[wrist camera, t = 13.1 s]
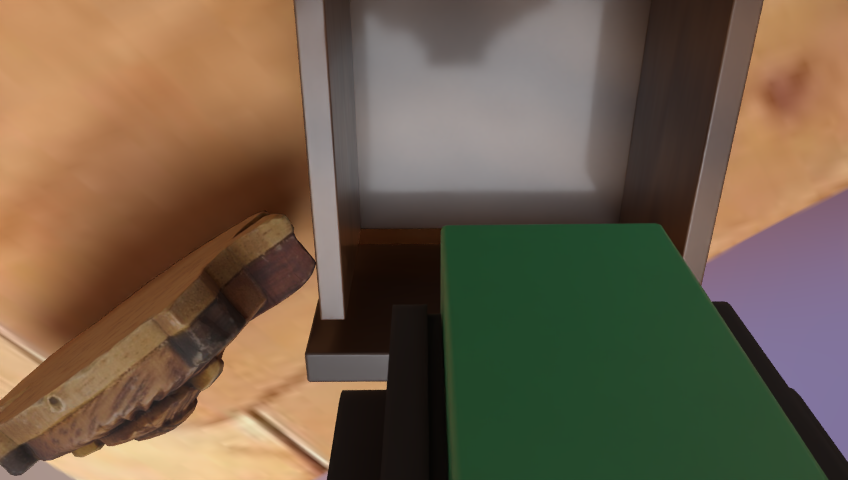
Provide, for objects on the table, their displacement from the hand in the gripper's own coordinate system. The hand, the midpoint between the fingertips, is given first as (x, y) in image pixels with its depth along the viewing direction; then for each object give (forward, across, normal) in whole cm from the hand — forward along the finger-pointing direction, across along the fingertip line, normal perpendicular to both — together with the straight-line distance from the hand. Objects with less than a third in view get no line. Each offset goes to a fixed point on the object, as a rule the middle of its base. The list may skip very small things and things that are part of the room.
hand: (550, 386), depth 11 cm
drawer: (+17, -1, +3) cm, 18 cm away
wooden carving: (+18, +13, +9) cm, 24 cm away
